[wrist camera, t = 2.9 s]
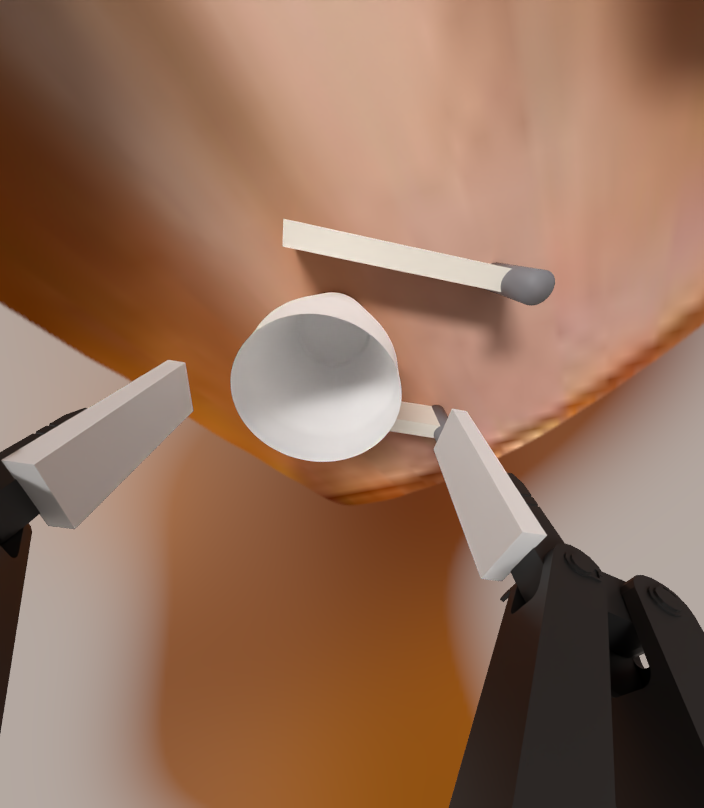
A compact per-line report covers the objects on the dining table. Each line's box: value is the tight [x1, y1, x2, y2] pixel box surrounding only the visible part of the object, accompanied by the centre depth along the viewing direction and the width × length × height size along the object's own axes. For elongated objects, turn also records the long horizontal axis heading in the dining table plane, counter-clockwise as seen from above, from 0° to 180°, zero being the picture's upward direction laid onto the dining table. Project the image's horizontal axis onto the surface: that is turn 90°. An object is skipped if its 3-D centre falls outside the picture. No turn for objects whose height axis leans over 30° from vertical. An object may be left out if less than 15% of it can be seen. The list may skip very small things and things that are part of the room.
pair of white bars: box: [283, 219, 555, 443], centre depth 21 cm, size 17×16×6 cm
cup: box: [231, 292, 402, 462], centre depth 18 cm, size 9×9×12 cm
